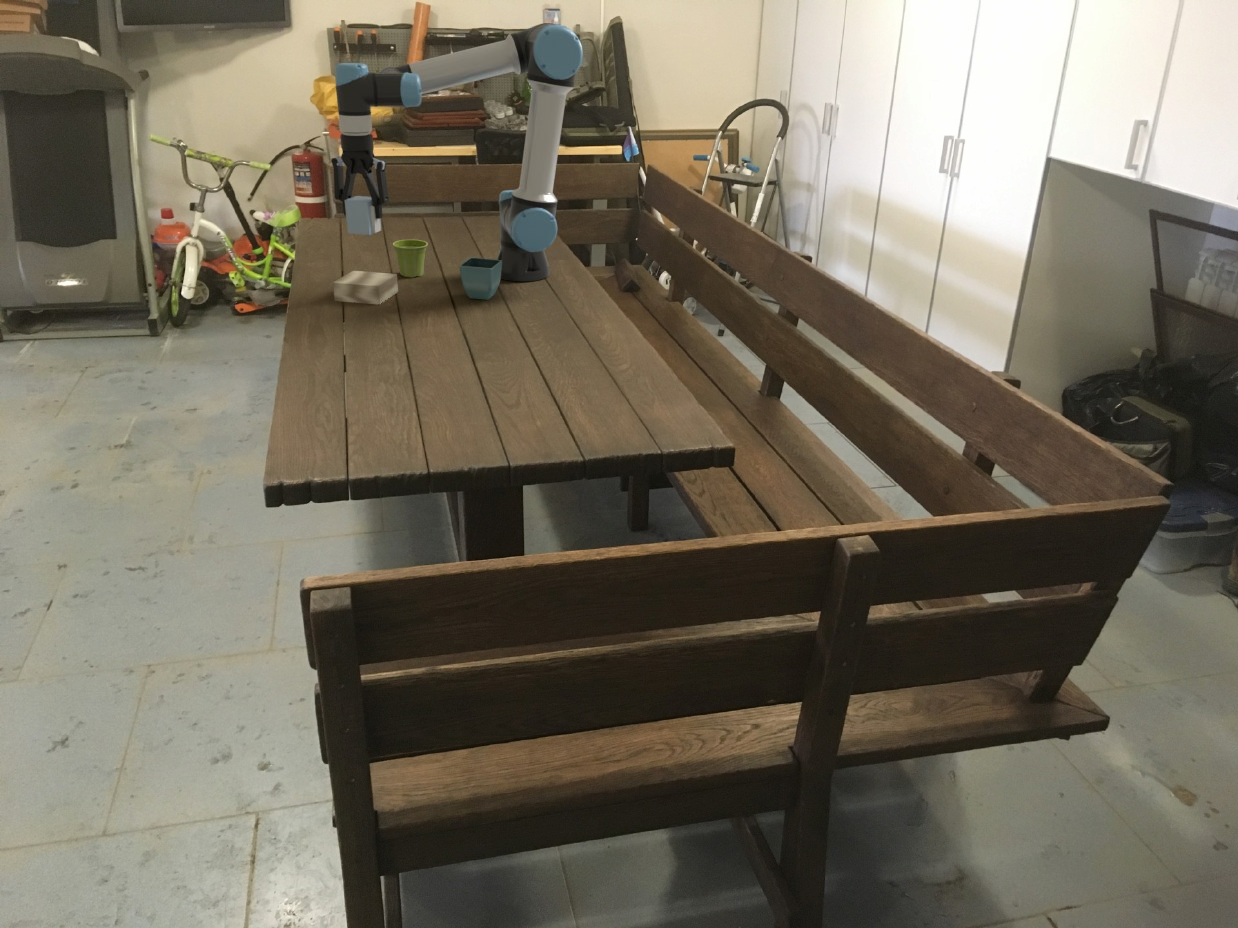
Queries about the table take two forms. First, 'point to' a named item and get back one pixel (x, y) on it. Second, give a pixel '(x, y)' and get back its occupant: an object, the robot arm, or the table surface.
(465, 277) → the flower pot
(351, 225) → the slate blue block
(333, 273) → the table surface
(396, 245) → the plant pot
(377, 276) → the birch block
